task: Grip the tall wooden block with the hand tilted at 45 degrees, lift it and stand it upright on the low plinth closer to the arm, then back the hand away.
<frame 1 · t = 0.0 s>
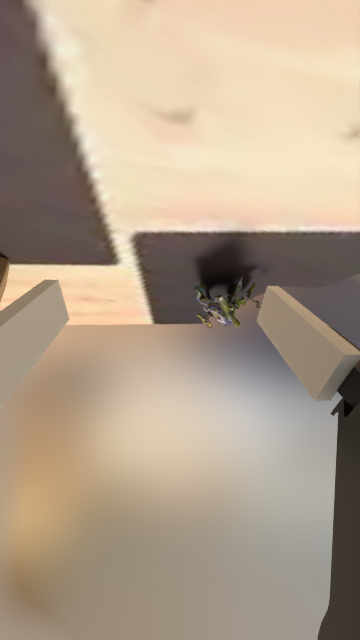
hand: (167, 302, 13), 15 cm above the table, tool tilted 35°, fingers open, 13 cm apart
passion flower: (223, 281, 39), on the table
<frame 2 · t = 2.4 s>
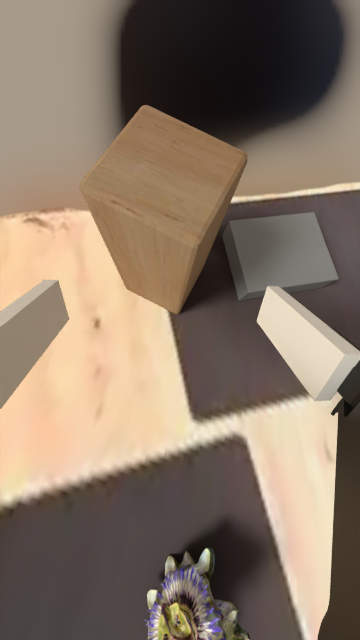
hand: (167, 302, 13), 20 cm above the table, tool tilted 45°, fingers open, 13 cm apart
plinth: (270, 261, 37), on the table
passion flower: (189, 590, 26), on the table
wooden block: (165, 278, 35), on the table
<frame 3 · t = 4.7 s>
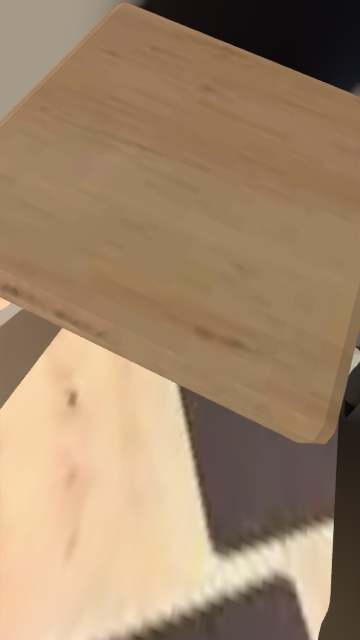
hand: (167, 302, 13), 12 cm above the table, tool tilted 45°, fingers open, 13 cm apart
wooden block: (173, 326, 24), on the table, touching gripper
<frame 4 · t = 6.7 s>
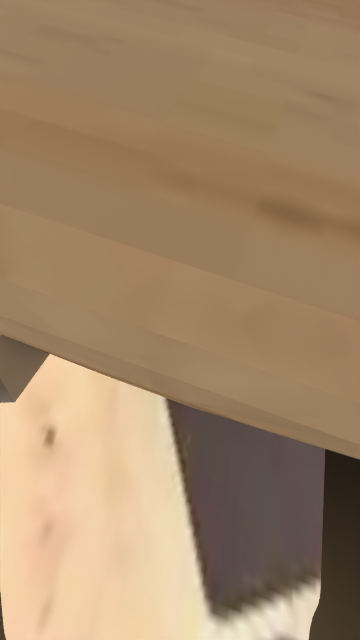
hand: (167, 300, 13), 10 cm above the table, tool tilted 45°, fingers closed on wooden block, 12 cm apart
wooden block: (167, 345, 21), point 1 cm above the table, touching gripper
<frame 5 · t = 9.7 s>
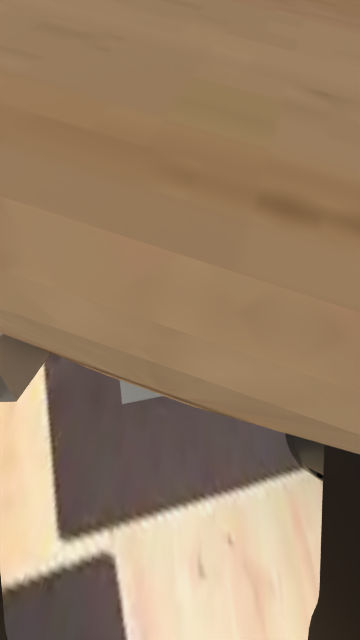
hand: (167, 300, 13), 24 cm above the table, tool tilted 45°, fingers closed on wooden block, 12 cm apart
plinth: (166, 353, 36), on the table
wooden block: (167, 344, 22), point 15 cm above the table, touching gripper
when the fingers open (15 cm above the table, at t = 12.8 s): wooden block drops 2 cm, resting on plinth.
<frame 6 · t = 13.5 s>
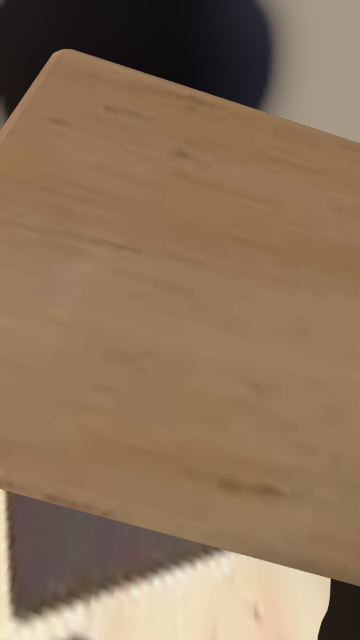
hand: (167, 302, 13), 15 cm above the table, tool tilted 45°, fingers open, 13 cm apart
wooden block: (165, 344, 24), point 4 cm above the table, touching plinth
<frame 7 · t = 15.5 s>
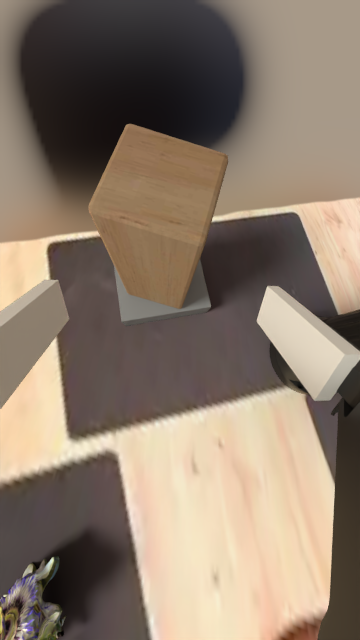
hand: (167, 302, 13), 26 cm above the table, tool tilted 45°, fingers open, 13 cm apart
plinth: (161, 288, 40), on the table
passion flower: (47, 594, 29), on the table
wooden block: (162, 278, 37), point 4 cm above the table, touching plinth
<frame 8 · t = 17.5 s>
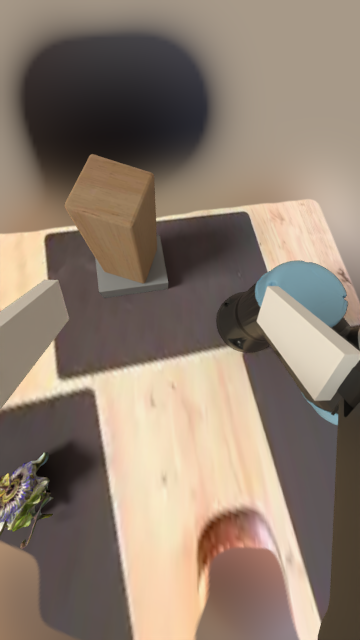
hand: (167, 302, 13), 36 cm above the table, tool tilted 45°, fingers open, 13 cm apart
plinth: (133, 269, 51), on the table
passion flower: (40, 483, 40), on the table
wooden block: (131, 260, 48), point 4 cm above the table, touching plinth
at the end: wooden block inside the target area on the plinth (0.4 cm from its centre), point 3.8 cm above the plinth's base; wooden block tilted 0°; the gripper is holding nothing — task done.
